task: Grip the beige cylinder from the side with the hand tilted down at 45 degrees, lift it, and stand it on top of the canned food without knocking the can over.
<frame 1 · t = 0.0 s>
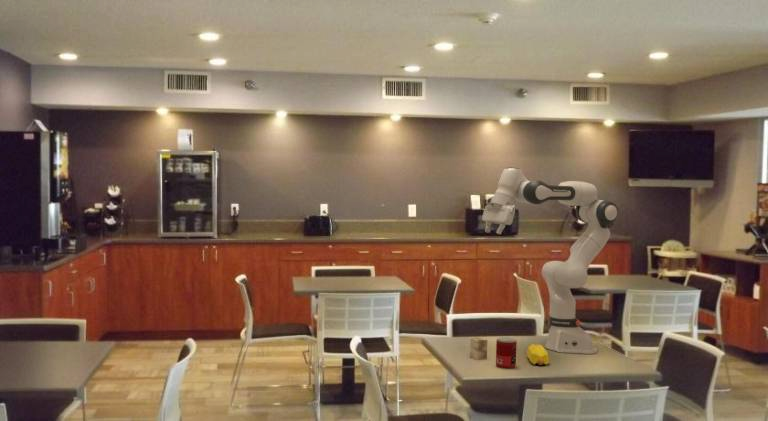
hand: (492, 233, 323), 52 cm above the table, tool tilted 20°, fingers open, 8 cm apart
beige cylinder: (478, 358, 315), on the table
yellow lumpy piece: (537, 362, 312), on the table
canned food: (505, 366, 302), on the table
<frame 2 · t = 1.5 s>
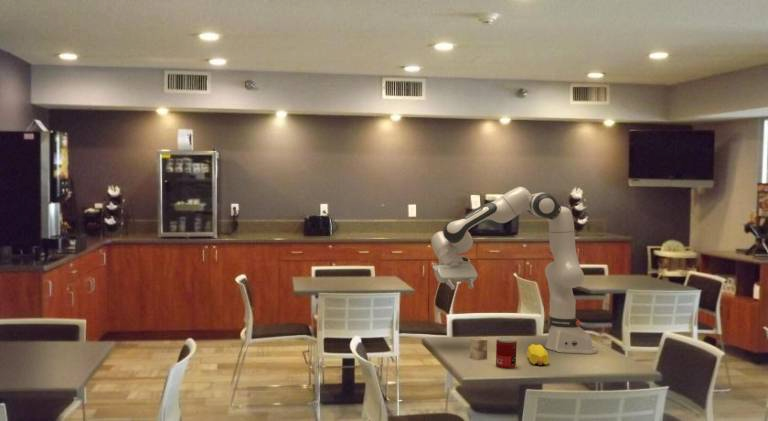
hand: (462, 288, 325), 28 cm above the table, tool tilted 45°, fingers open, 8 cm apart
nothing on the table moved.
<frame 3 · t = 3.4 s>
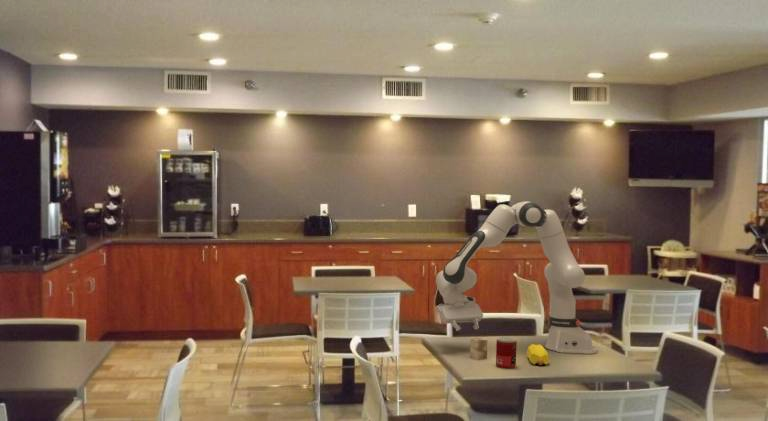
hand: (468, 329, 322), 11 cm above the table, tool tilted 45°, fingers open, 8 cm apart
nothing on the table moved.
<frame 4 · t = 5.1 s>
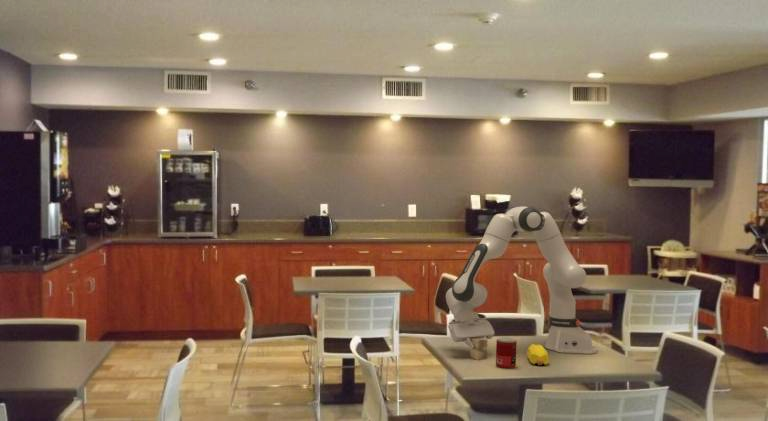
hand: (479, 347, 315), 4 cm above the table, tool tilted 45°, fingers closed on beige cylinder, 5 cm apart
beige cylinder: (478, 358, 315), on the table, touching gripper
everything else where it was.
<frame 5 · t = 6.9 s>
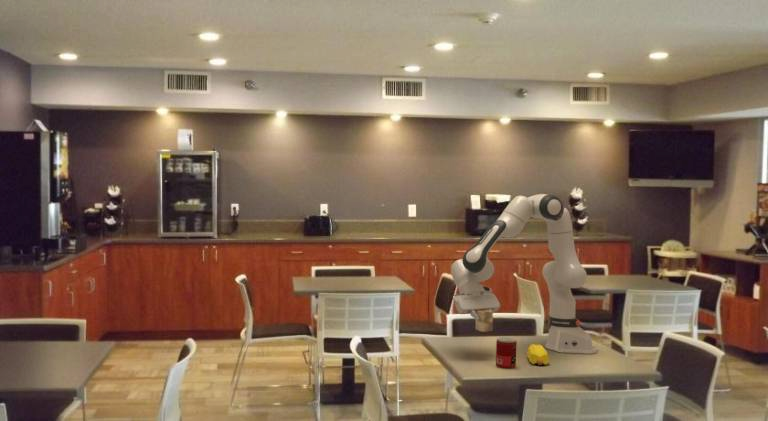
hand: (485, 319, 312), 17 cm above the table, tool tilted 45°, fingers closed on beige cylinder, 5 cm apart
beige cylinder: (483, 330, 313), point 12 cm above the table, touching gripper
everything else where it was.
when the fingers open (16 cm above the table, at t = 8.8 s): beige cylinder stays where it is, resting on canned food.
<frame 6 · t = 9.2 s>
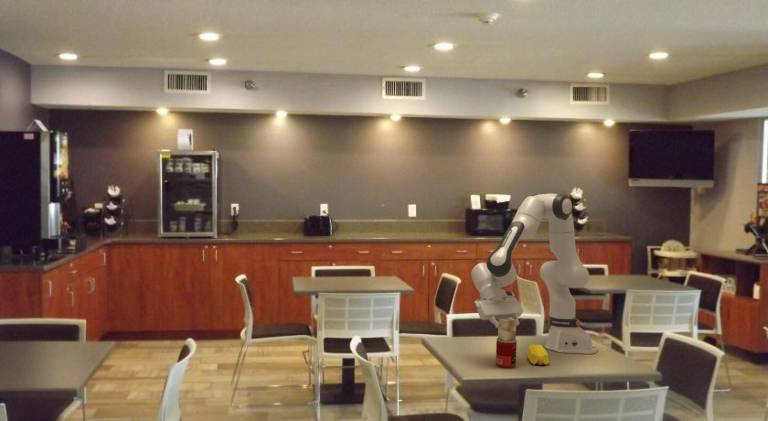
hand: (508, 325, 301), 16 cm above the table, tool tilted 45°, fingers open, 8 cm apart
beige cylinder: (506, 339, 302), point 11 cm above the table, touching canned food
canned food: (505, 366, 302), on the table, touching beige cylinder
everything else where it was.
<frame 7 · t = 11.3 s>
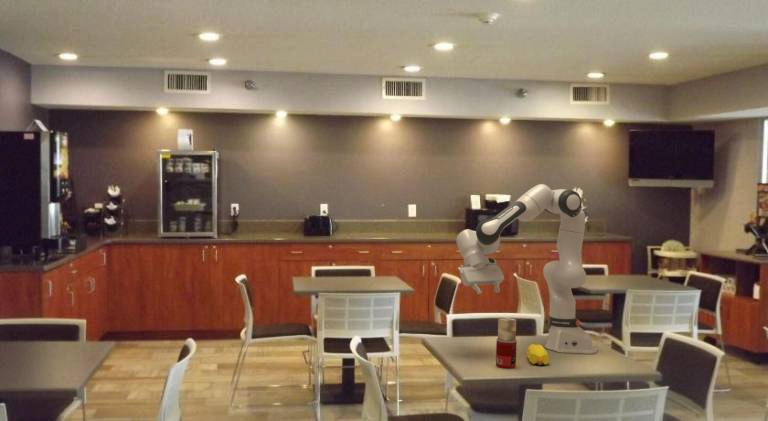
hand: (489, 292, 314), 28 cm above the table, tool tilted 40°, fingers open, 8 cm apart
nothing on the table moved.
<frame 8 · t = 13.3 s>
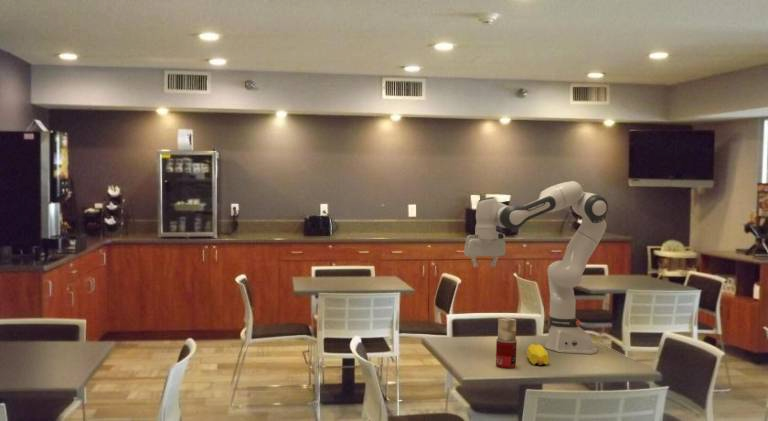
hand: (484, 266, 327), 37 cm above the table, tool pointing down, fingers open, 8 cm apart
nothing on the table moved.
at the end: beige cylinder inside the target area on the canned food (0.1 cm from its centre), point 11.2 cm above the canned food's base; beige cylinder tilted 0°; canned food moved 0.3 cm from its start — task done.
